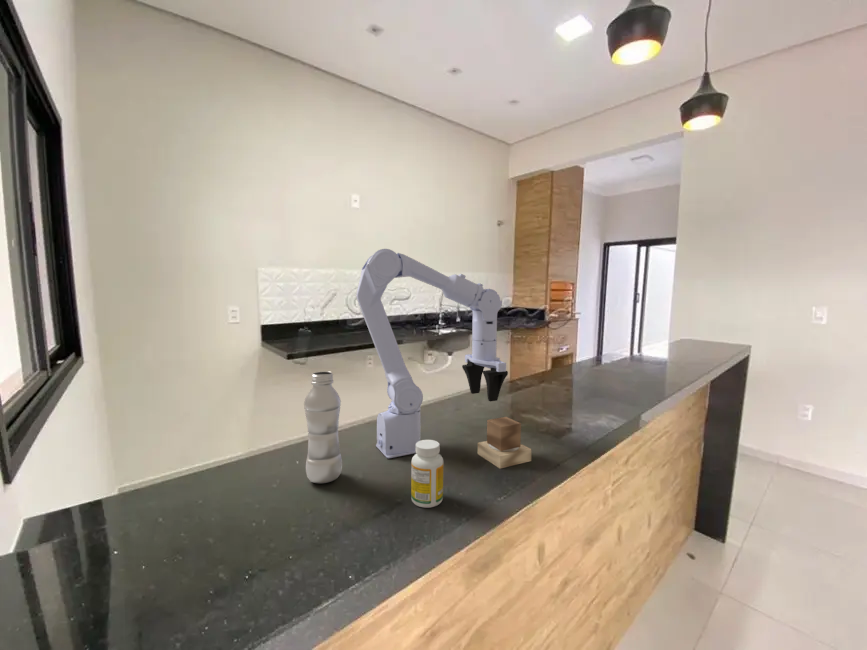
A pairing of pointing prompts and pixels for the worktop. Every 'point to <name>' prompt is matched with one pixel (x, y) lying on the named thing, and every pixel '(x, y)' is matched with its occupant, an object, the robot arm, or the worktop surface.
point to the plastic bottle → (323, 429)
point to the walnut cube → (504, 433)
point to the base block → (504, 455)
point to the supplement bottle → (427, 474)
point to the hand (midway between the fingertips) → (483, 396)
